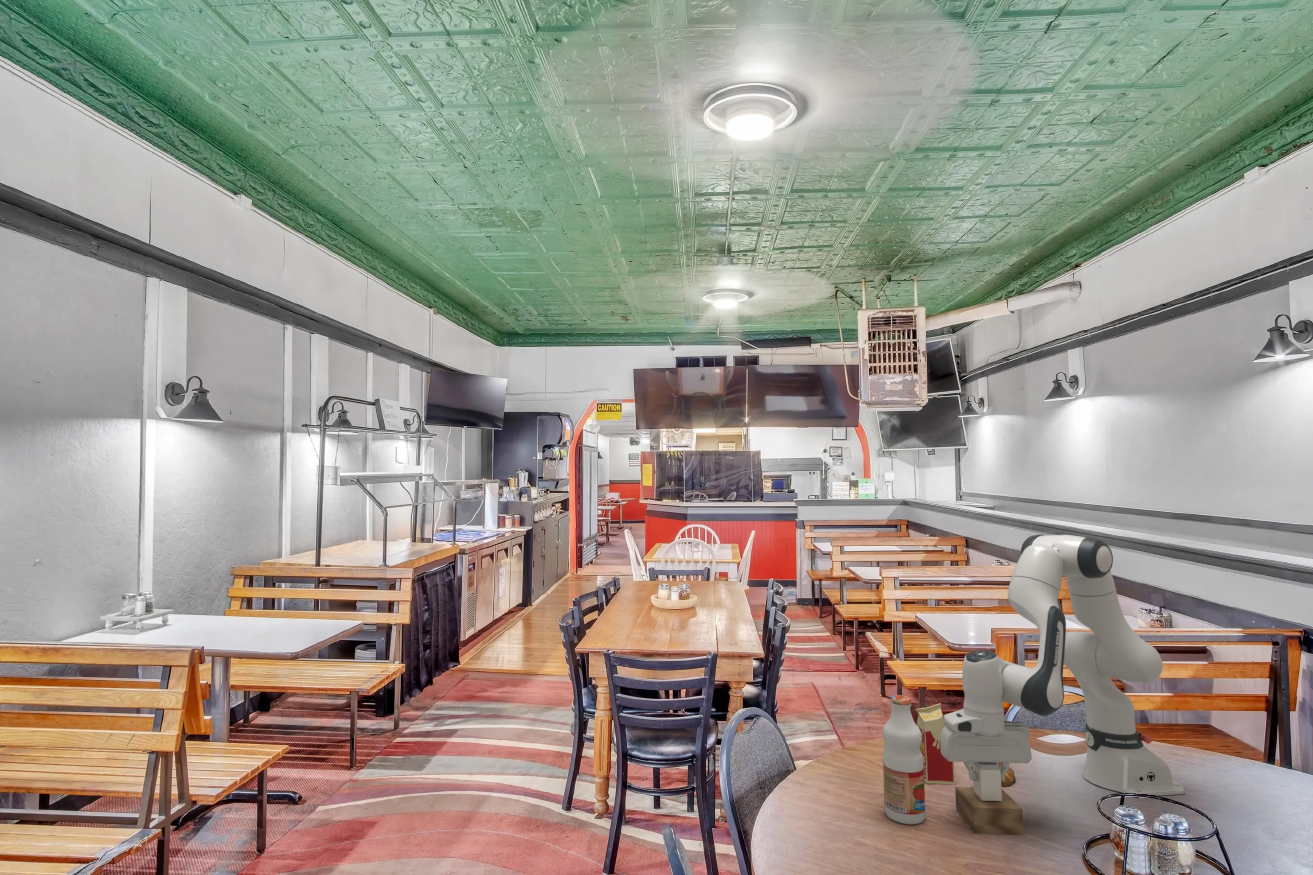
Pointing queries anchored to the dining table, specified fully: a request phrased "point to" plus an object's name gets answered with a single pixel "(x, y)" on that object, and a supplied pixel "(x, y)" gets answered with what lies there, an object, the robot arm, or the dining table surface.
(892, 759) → the fruit juice
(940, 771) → the milk carton
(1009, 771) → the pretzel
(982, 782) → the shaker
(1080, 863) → the dining table surface
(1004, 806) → the block
